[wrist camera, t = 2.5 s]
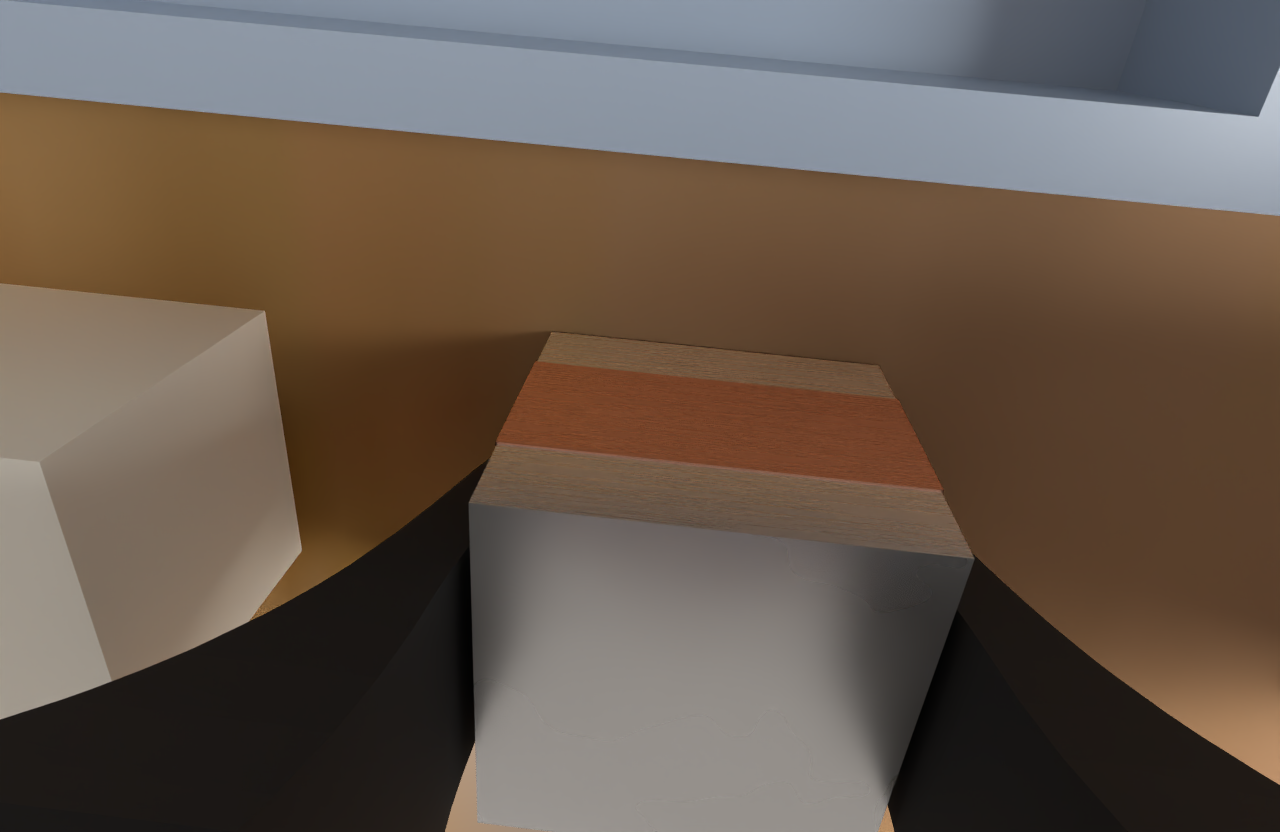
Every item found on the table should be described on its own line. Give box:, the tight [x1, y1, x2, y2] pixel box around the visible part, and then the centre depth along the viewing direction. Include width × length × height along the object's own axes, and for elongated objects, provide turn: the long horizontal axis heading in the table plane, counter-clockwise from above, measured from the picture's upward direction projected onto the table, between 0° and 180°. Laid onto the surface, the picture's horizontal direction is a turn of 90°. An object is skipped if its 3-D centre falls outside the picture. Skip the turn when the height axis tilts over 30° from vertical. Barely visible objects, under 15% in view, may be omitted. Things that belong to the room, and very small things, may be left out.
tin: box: [469, 332, 975, 832], centre depth 10 cm, size 5×5×4 cm
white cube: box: [0, 283, 302, 719], centre depth 11 cm, size 4×4×4 cm
